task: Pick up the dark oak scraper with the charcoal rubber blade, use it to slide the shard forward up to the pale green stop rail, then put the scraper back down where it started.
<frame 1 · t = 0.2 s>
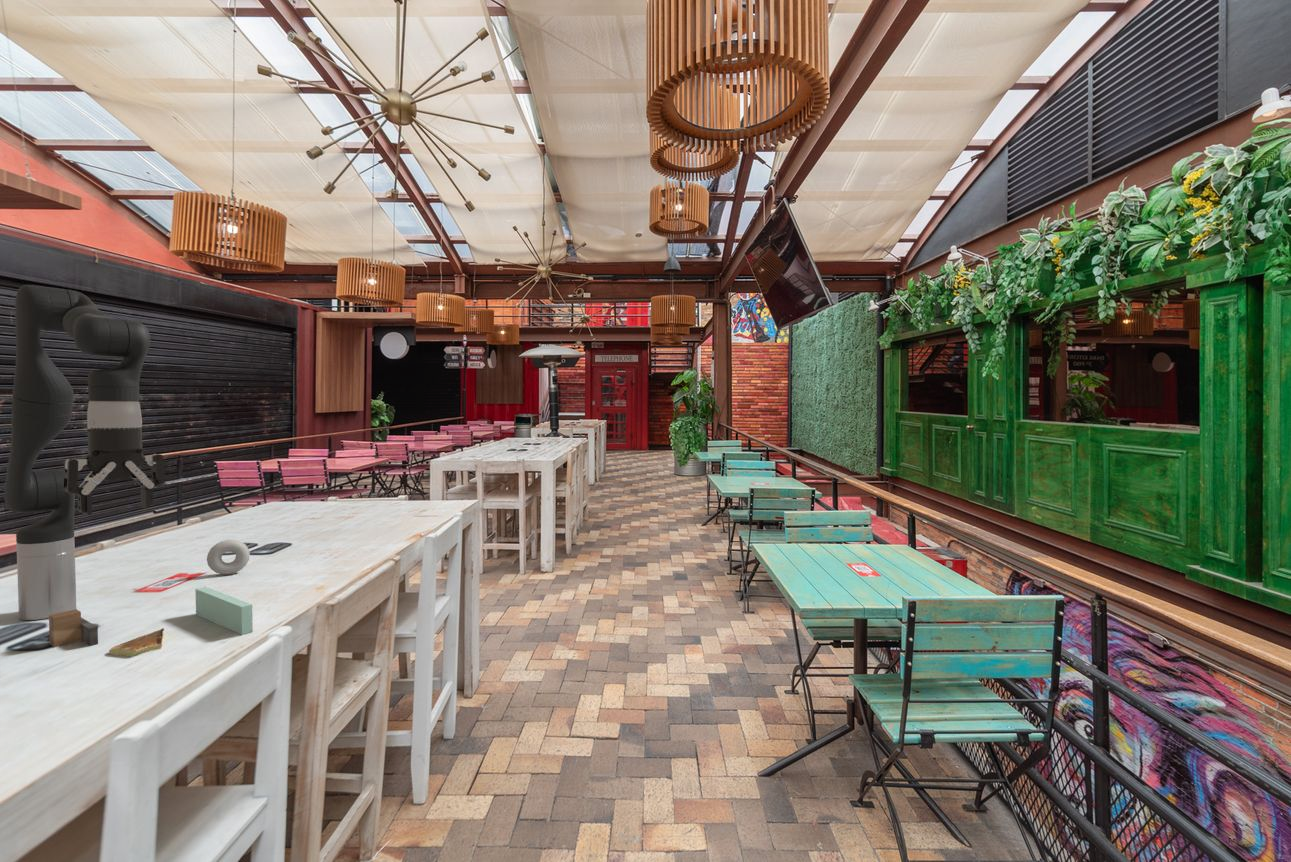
hand: (117, 511, 109), 28 cm above the table, tool pointing down, fingers open, 8 cm apart
stop rail: (223, 622, 128), on the table
scraper: (65, 642, 117), on the table
donut: (229, 574, 165), on the table
shard: (137, 649, 116), on the table
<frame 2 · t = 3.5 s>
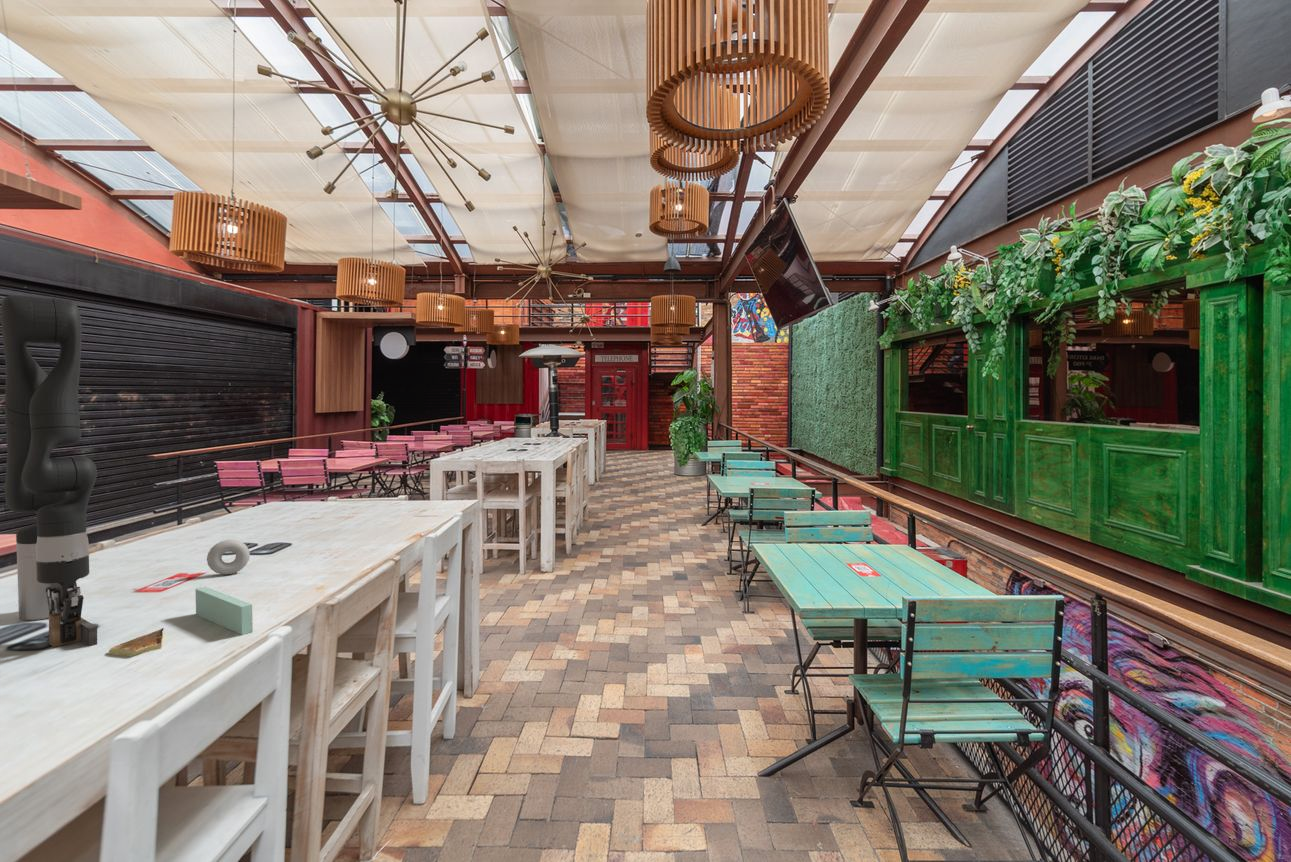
hand: (65, 639, 117), 1 cm above the table, tool pointing down, fingers closed on scraper, 3 cm apart
scraper: (64, 642, 117), on the table, touching gripper
everything else where it was.
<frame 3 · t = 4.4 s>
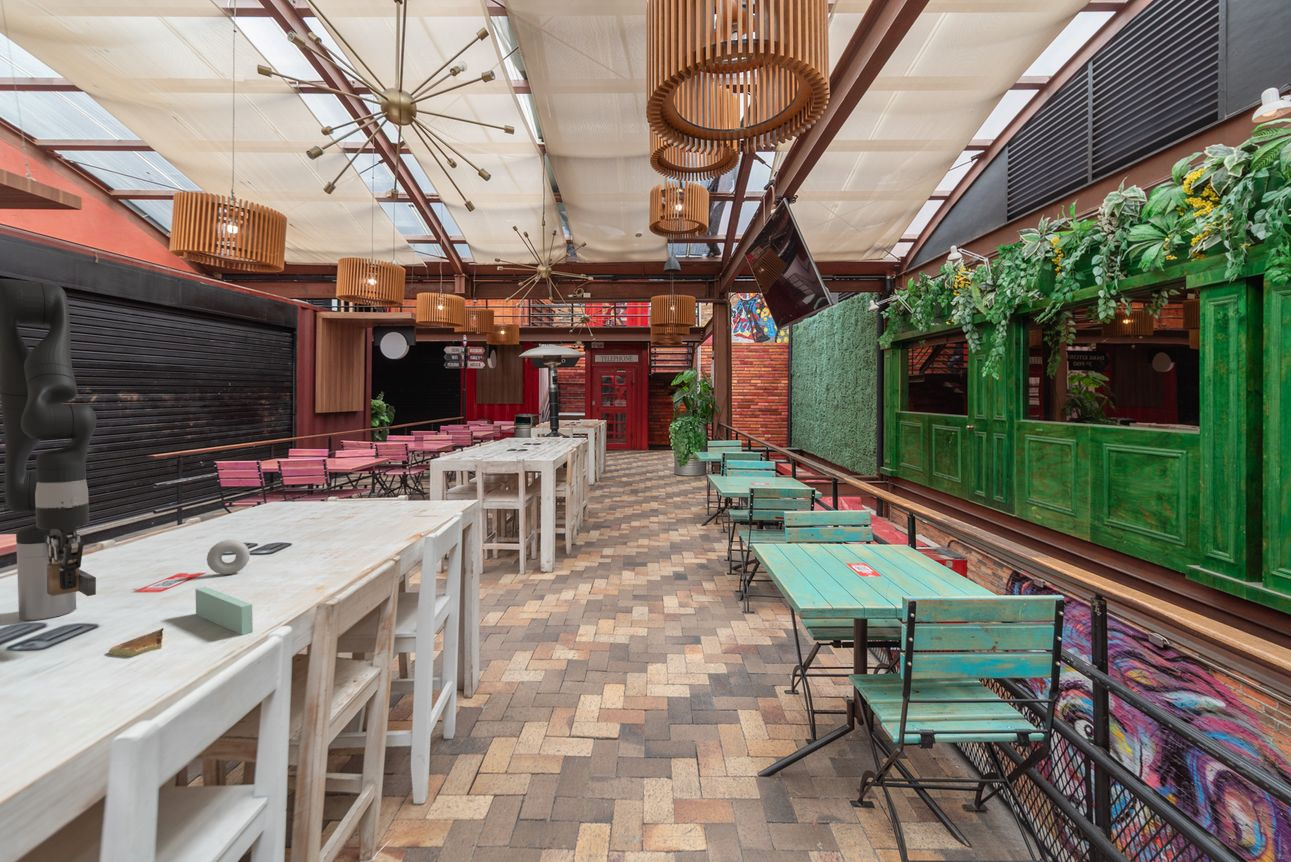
hand: (65, 586, 117), 11 cm above the table, tool pointing down, fingers closed on scraper, 3 cm apart
scraper: (63, 592, 117), point 10 cm above the table, touching gripper
everything else where it was.
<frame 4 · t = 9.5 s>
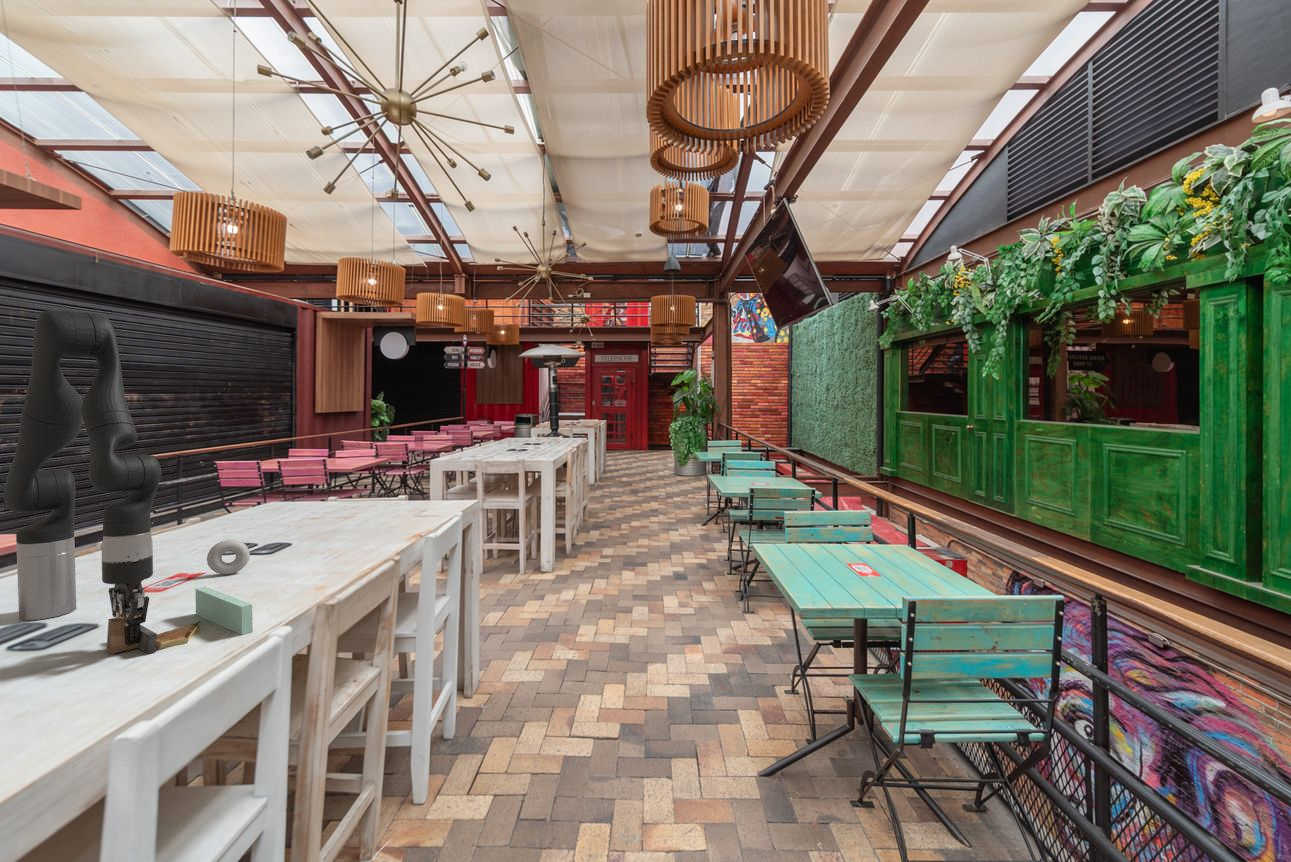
hand: (129, 641, 114), 1 cm above the table, tool pointing down, fingers closed on scraper, 3 cm apart
scraper: (122, 648, 114), on the table, touching gripper
shard: (170, 641, 119), on the table
everything else where it was.
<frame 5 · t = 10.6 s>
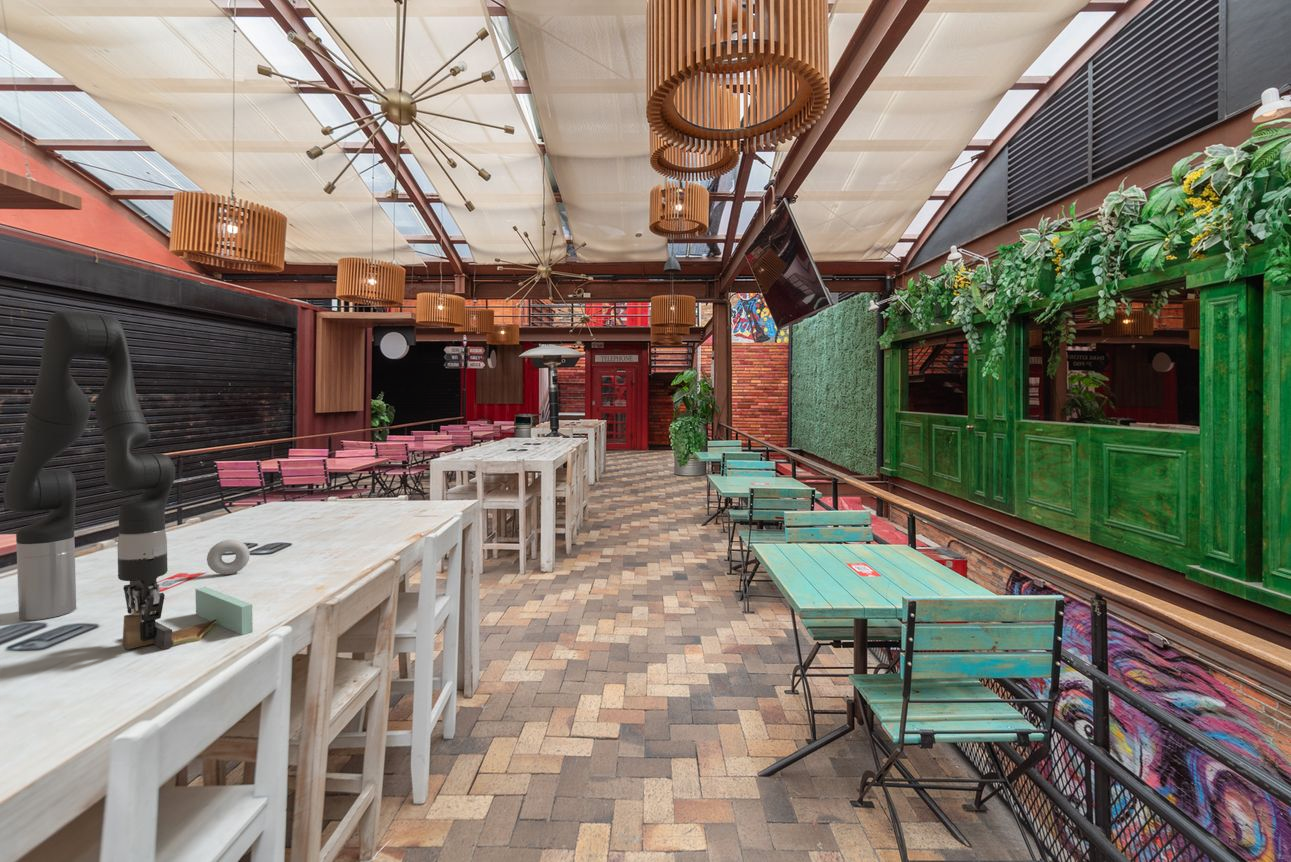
hand: (144, 637, 116), 1 cm above the table, tool pointing down, fingers closed on scraper, 3 cm apart
scraper: (138, 644, 116), on the table, touching shard, gripper
shard: (184, 639, 121), on the table, touching scraper
everything else where it was.
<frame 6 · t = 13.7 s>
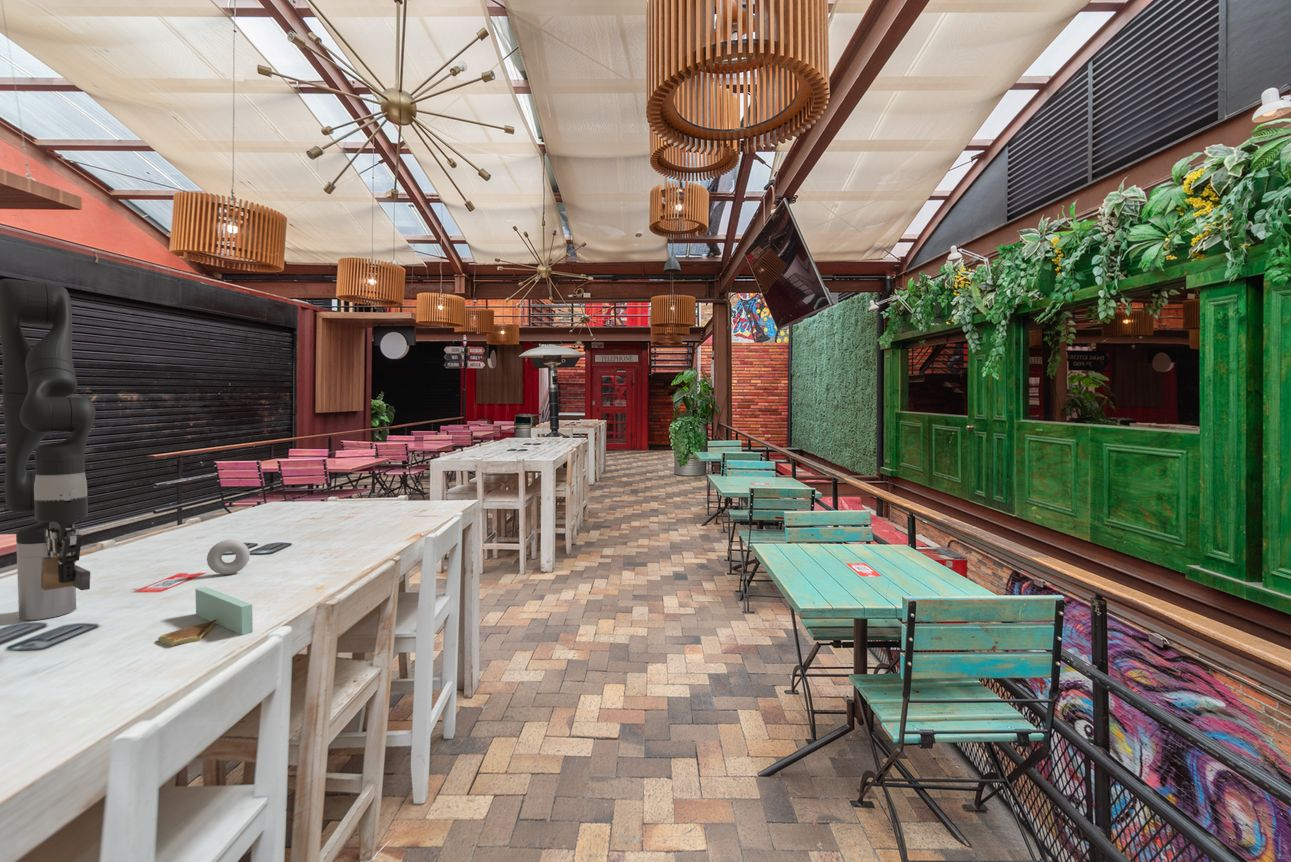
hand: (64, 580, 117), 13 cm above the table, tool pointing down, fingers closed on scraper, 3 cm apart
scraper: (57, 586, 116), point 12 cm above the table, touching gripper
shard: (184, 639, 121), on the table
everything else where it was.
when the fingers open (2 cm above the table, at t = 15.9 s): scraper stays where it is, on the table.
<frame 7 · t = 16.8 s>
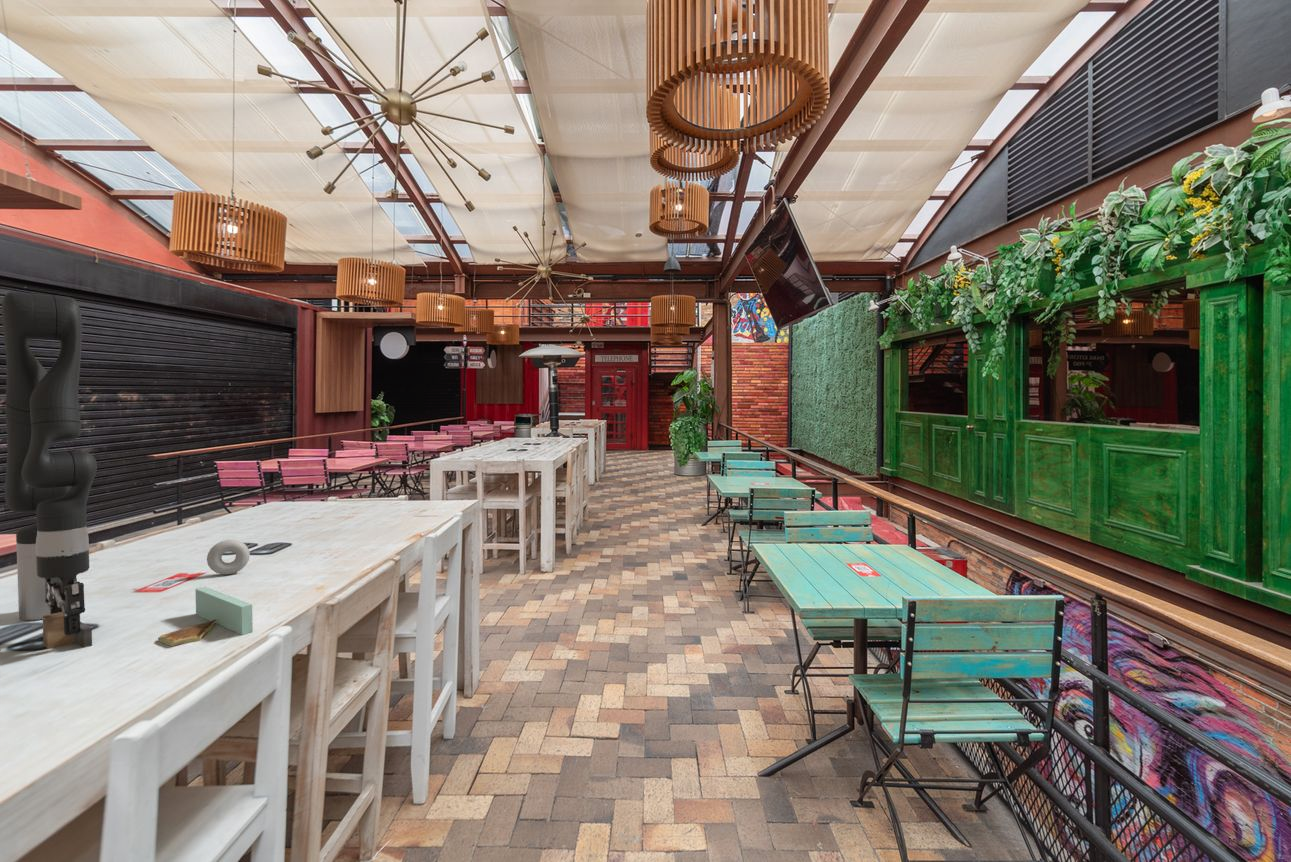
hand: (65, 629, 117), 3 cm above the table, tool pointing down, fingers open, 8 cm apart
scraper: (59, 643, 116), on the table, touching gripper
everything else where it was.
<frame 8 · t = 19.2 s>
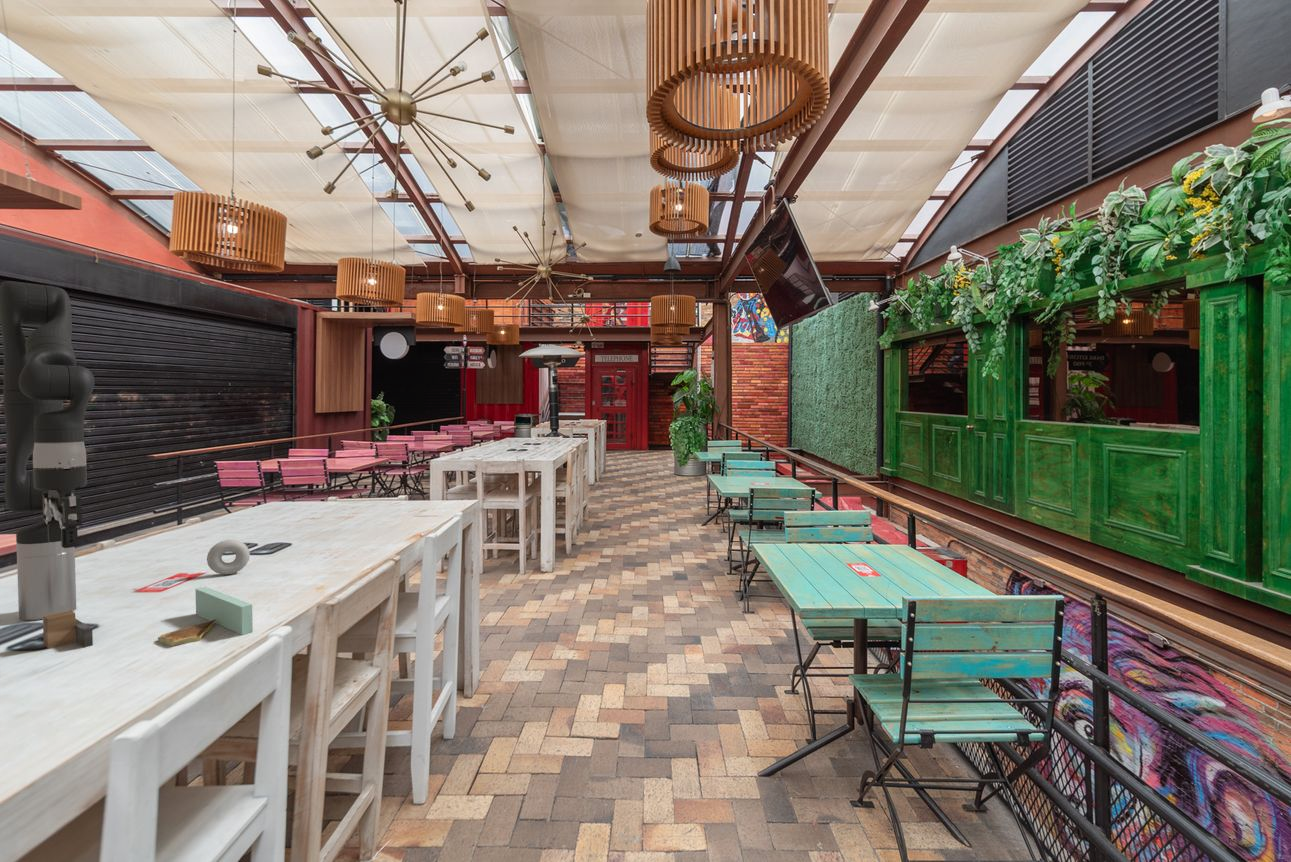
hand: (62, 544, 116), 20 cm above the table, tool pointing down, fingers open, 8 cm apart
scraper: (60, 643, 116), on the table
everything else where it was.
at the end: shard inside the target area (1.8 cm from its centre), on the table; scraper inside the target area (0.8 cm from its centre), on the table; the gripper is holding nothing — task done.
